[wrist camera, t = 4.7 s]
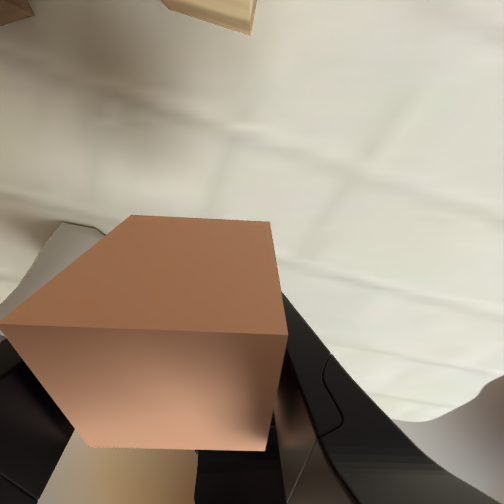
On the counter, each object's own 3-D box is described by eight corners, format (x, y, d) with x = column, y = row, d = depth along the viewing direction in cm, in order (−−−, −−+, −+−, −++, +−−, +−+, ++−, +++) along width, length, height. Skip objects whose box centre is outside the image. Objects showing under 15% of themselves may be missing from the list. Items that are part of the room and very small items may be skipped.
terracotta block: (259, 318, 11) (265, 451, 7) (154, 314, 11) (88, 446, 6) (269, 221, 8) (288, 335, 4) (131, 215, 8) (-5, 323, 4)
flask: (44, 265, 23) (-78, 354, 15) (54, 207, 20) (-96, 278, 11) (116, 294, 25) (46, 387, 16) (136, 245, 22) (61, 329, 13)
